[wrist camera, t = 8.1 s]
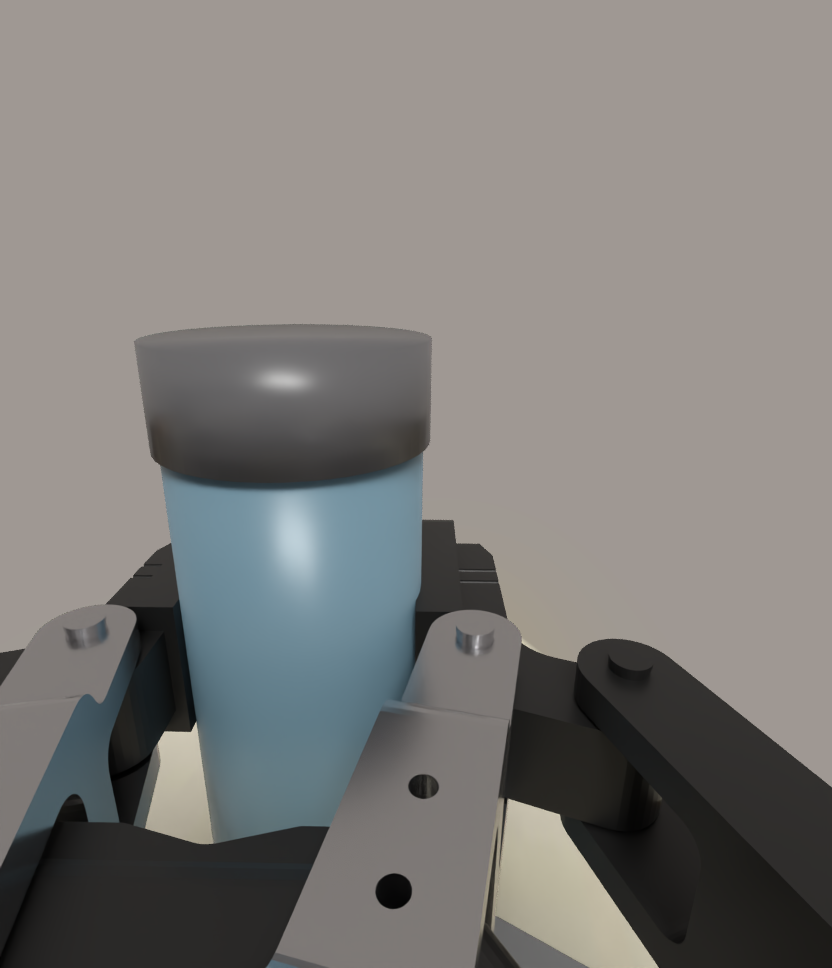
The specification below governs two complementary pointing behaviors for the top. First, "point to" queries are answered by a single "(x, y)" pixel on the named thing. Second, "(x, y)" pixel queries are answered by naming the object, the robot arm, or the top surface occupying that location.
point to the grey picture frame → (531, 949)
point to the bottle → (290, 548)
